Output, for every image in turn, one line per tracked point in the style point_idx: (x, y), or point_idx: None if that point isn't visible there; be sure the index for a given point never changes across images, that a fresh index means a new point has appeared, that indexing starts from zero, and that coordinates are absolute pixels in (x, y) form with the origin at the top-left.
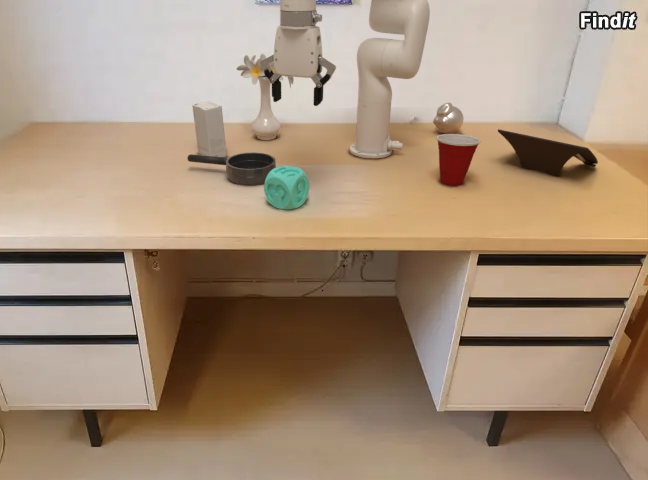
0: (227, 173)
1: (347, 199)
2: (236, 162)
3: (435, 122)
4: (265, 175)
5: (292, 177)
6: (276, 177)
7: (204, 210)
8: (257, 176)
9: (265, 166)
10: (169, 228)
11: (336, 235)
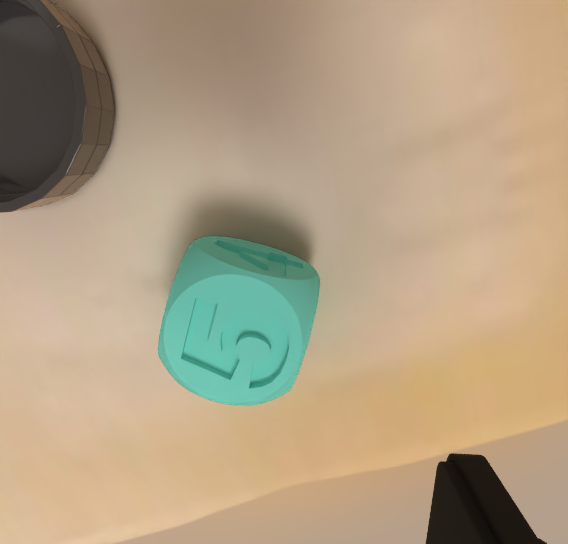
0: None
1: (443, 200)
2: None
3: None
4: (89, 159)
5: (277, 389)
6: (214, 400)
7: (34, 419)
8: (66, 186)
9: (22, 5)
10: (17, 532)
11: (452, 448)
